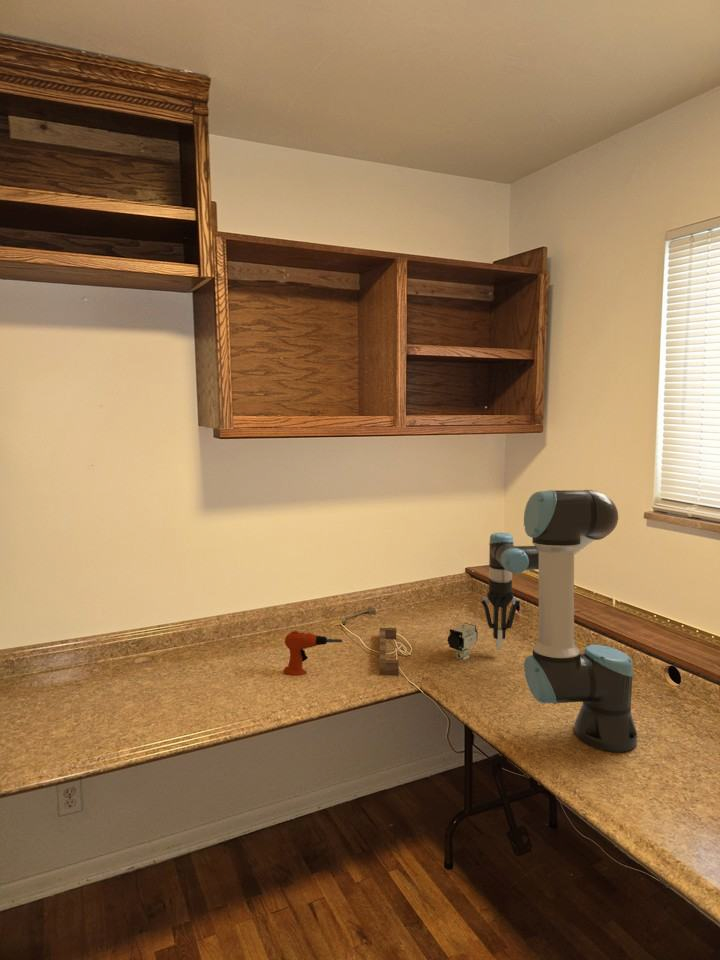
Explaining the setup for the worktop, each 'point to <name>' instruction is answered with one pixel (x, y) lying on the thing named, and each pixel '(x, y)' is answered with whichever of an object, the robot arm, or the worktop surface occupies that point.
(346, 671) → the worktop surface
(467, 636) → the pneumatic valve
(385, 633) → the stop
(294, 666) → the toy drill
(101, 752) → the worktop surface
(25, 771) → the worktop surface
